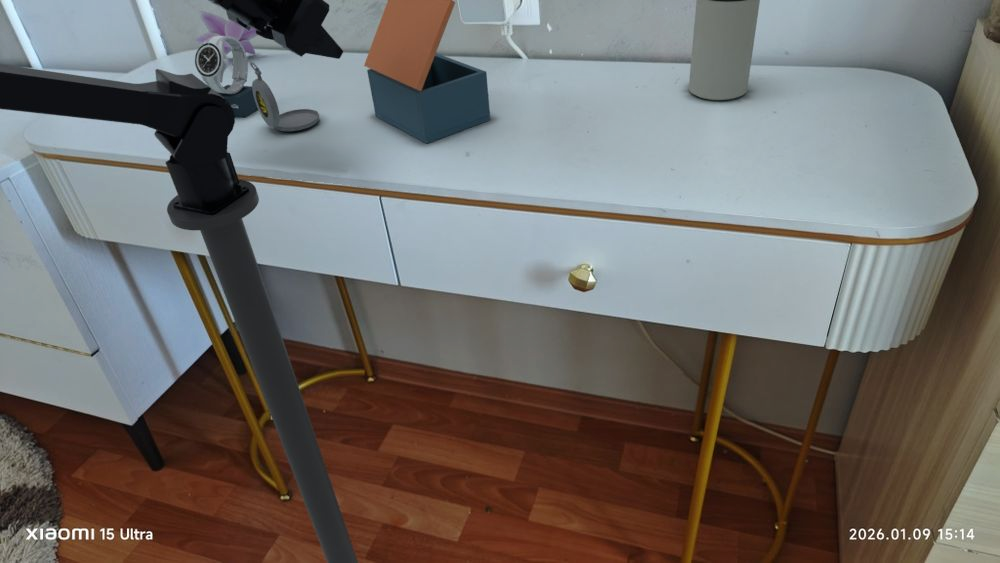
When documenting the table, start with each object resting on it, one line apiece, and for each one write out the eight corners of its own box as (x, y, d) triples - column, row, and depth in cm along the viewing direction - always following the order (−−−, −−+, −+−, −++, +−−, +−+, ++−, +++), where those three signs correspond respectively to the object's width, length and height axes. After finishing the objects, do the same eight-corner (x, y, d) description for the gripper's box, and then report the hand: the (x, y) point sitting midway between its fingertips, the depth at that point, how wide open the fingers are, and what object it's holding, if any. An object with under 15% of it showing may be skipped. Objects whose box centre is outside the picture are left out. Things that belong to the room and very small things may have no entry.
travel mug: (712, 106, 94) (728, -37, 83) (677, 88, 100) (687, -47, 89) (759, 93, 96) (780, -47, 85) (721, 77, 102) (737, -56, 91)
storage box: (436, 95, 104) (430, 50, 100) (490, 120, 95) (486, 71, 91) (375, 116, 99) (366, 69, 95) (426, 143, 90) (419, 93, 86)
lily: (286, 61, 127) (269, 9, 126) (247, 55, 116) (227, -2, 115) (235, 82, 131) (217, 32, 130) (192, 79, 120) (172, 23, 118)
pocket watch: (329, 116, 100) (313, 47, 95) (297, 141, 94) (278, 68, 88) (281, 113, 103) (263, 46, 97) (247, 136, 97) (226, 66, 91)
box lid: (398, -14, 93) (393, -16, 92) (455, 2, 84) (450, -1, 83) (368, 67, 95) (363, 65, 95) (421, 91, 86) (416, 89, 86)
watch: (206, 119, 103) (181, 45, 97) (240, 100, 109) (219, 28, 103) (237, 122, 101) (213, 47, 95) (269, 102, 107) (249, 30, 101)
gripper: (289, -92, 66) (405, 4, 77) (222, -102, 78) (330, -19, 90) (233, 12, 67) (356, 91, 78) (176, -15, 79) (289, 57, 91)
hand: (332, 51), depth 84 cm, fingers open, 4 cm apart
